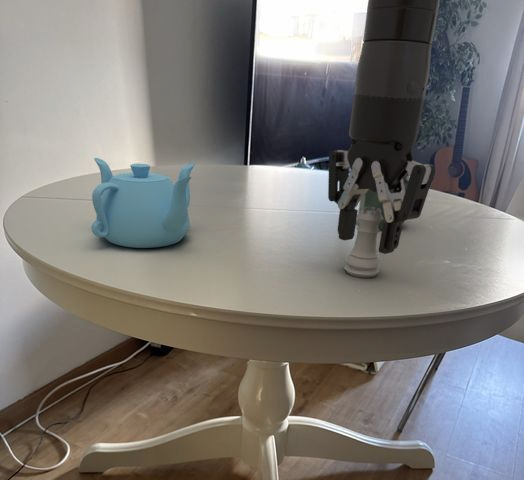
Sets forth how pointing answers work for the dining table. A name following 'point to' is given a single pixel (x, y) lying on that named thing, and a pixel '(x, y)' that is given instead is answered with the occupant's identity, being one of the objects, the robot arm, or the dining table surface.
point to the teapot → (141, 207)
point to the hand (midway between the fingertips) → (365, 244)
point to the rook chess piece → (365, 245)
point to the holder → (376, 202)
